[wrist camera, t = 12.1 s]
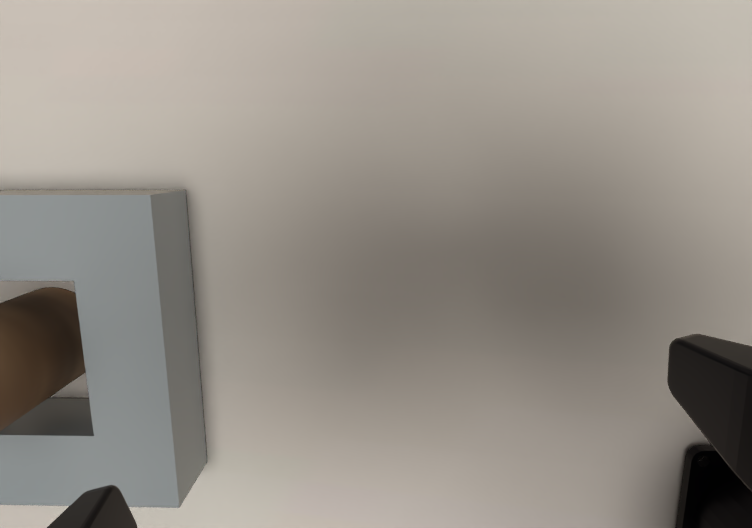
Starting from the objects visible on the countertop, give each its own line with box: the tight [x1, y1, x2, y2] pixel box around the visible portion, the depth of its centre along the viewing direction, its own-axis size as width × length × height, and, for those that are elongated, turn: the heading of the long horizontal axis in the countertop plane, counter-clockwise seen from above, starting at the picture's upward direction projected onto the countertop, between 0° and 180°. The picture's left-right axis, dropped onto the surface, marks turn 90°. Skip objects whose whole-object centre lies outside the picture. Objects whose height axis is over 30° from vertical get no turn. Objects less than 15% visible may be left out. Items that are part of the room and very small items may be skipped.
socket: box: [0, 190, 207, 508], centre depth 20 cm, size 12×12×3 cm
